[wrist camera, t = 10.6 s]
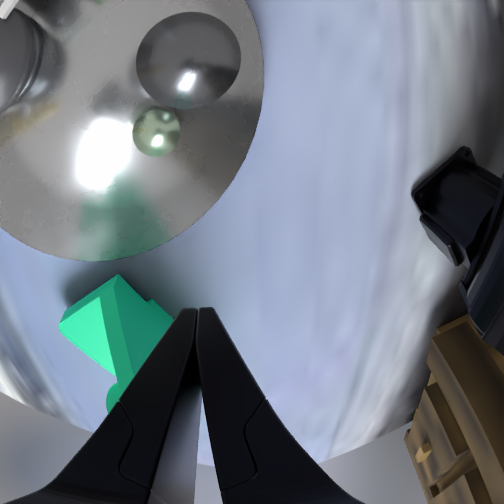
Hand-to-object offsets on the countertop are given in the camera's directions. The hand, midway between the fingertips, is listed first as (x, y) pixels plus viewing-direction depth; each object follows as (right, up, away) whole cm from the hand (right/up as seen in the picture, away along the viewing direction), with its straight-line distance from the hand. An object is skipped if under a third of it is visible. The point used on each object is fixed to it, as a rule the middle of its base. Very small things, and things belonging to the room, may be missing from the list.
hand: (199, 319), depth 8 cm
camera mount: (-8, -5, +18) cm, 20 cm away
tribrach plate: (-9, +11, +7) cm, 16 cm away
